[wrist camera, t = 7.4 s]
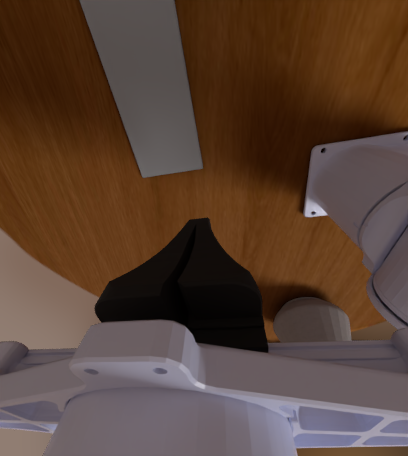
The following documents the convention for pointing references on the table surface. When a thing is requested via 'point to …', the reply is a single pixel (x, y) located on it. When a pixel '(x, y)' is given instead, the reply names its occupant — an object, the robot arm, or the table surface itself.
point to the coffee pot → (311, 321)
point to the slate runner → (147, 80)
